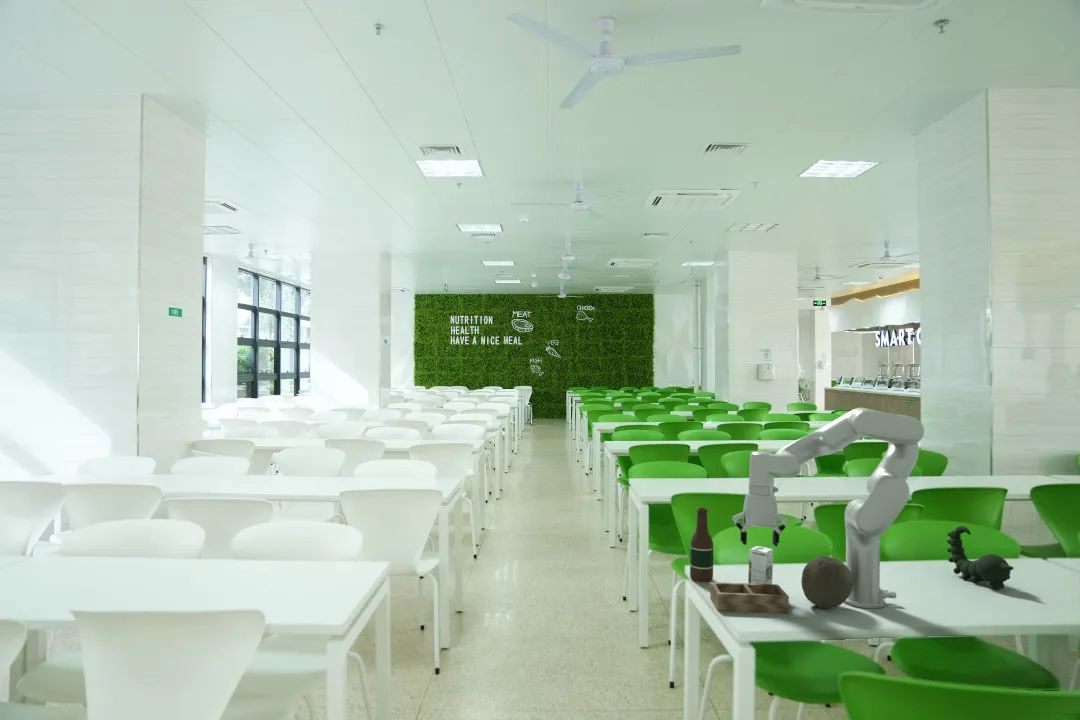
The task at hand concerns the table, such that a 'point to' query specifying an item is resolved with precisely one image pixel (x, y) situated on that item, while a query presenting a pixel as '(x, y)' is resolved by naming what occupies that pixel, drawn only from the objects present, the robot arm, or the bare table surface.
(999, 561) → the toy figurine
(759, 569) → the syrup box
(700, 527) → the beer bottle
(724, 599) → the slot rack
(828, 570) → the cantaloupe
